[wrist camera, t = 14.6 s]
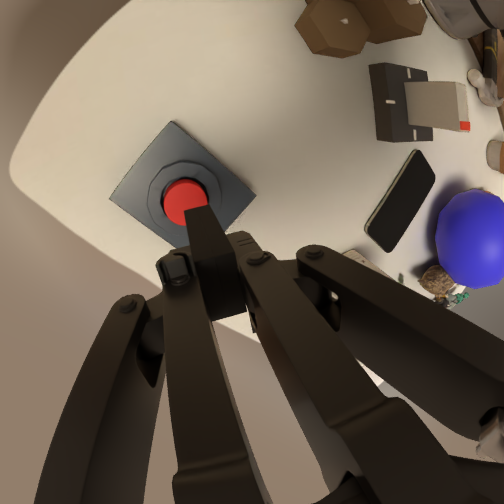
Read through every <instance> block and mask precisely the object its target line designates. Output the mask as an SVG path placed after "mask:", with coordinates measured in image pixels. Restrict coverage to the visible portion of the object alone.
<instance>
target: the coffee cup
mask: <svg viewBox="0 0 504 504" xmlns="http://www.w3.org/2000/svg"><path fill="white" fill-rule="evenodd" d="M487 163H488V165H489V166H490V167H491V168H492V169H494V170H496V171H499V172H500V173H502V174H504V142H501V141H495V140H493V141H490V142H489V144H488V147H487Z"/></svg>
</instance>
